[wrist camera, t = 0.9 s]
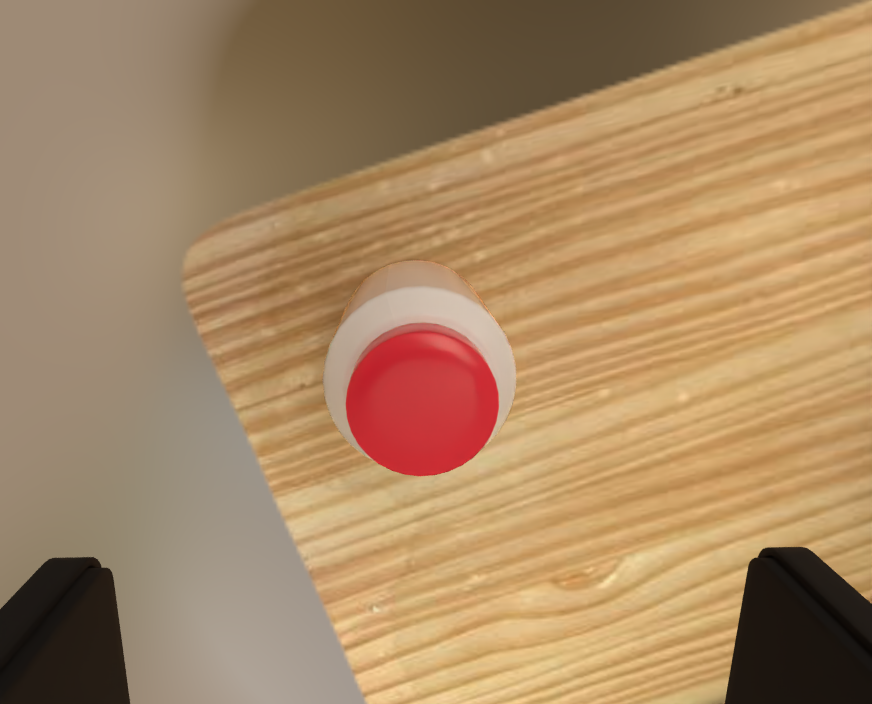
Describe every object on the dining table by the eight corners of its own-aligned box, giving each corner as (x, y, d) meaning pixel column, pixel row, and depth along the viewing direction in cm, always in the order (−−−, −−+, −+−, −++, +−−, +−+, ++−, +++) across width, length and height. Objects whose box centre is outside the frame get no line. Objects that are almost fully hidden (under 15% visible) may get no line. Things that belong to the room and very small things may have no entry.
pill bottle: (373, 422, 26) (361, 532, 18) (318, 290, 24) (277, 345, 16) (507, 373, 25) (557, 463, 17) (460, 237, 24) (491, 266, 16)
